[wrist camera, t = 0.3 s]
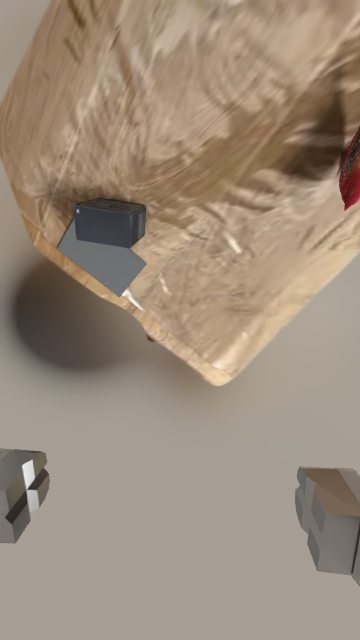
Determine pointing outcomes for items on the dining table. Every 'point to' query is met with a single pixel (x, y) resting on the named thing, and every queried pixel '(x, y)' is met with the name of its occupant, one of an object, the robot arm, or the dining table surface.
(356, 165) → the decorative bird figurine
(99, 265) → the slate tile
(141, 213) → the small box
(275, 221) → the dining table surface
